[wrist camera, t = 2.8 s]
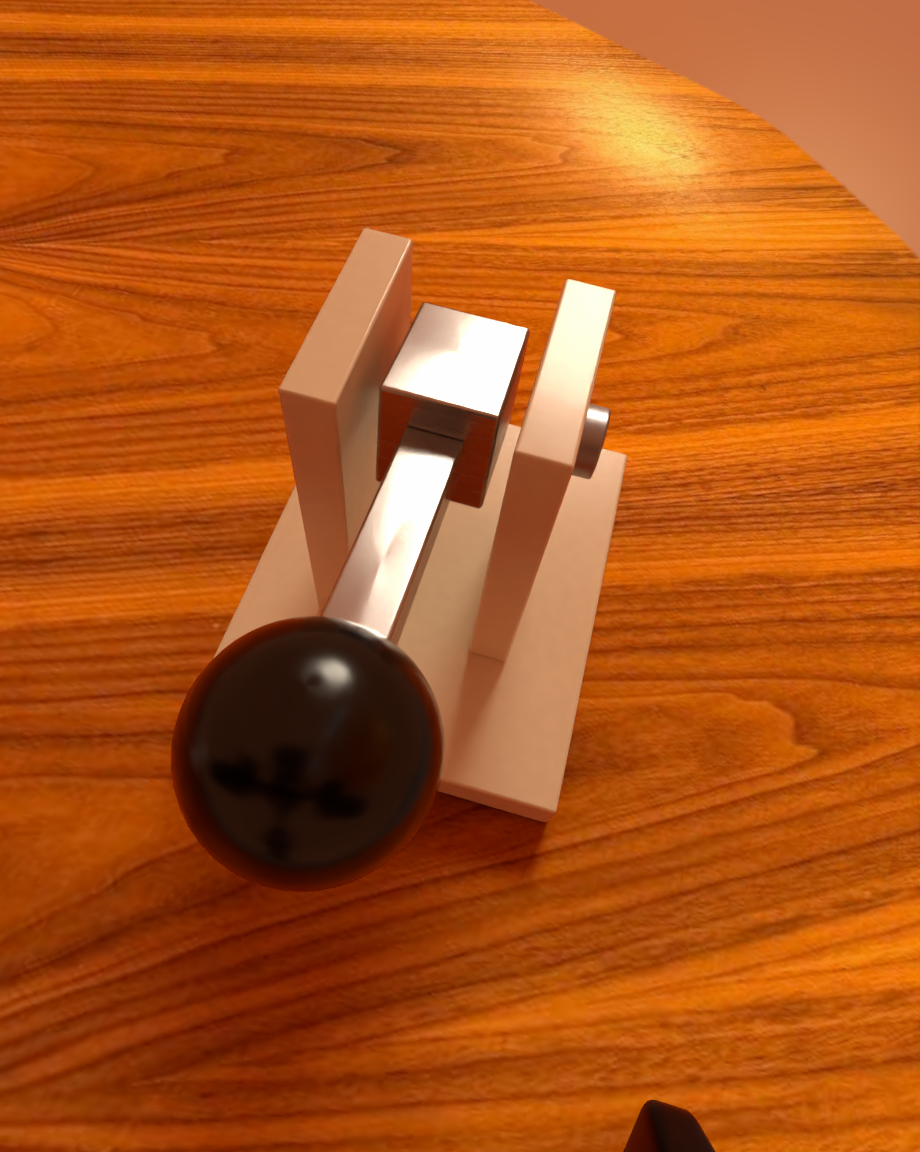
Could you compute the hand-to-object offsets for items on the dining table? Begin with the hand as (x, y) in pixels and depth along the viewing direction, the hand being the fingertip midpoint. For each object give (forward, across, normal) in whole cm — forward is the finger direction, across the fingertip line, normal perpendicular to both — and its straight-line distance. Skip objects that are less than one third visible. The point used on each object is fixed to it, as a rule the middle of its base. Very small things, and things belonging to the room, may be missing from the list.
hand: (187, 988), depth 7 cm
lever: (+7, 0, -2) cm, 7 cm away
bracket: (+15, 0, 0) cm, 15 cm away
